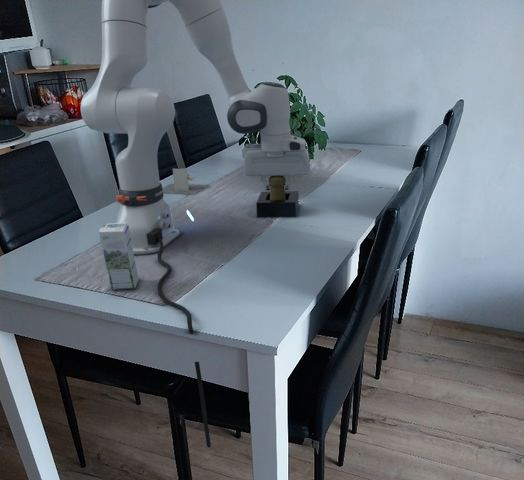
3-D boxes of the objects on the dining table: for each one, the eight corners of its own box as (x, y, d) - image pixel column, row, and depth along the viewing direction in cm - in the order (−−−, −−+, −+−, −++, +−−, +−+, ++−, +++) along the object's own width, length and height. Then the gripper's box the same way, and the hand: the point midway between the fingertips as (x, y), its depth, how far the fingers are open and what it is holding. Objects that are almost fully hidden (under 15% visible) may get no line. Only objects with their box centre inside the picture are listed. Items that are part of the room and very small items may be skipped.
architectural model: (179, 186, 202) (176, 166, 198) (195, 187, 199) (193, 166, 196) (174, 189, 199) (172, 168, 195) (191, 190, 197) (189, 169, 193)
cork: (288, 207, 173) (287, 172, 167) (287, 213, 168) (286, 177, 162) (269, 208, 174) (267, 173, 168) (268, 214, 169) (266, 178, 163)
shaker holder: (295, 216, 165) (295, 202, 163) (257, 217, 167) (256, 202, 164) (298, 204, 175) (298, 190, 173) (262, 205, 177) (261, 191, 174)
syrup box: (139, 279, 132) (128, 221, 124) (135, 289, 127) (123, 229, 119) (115, 280, 132) (103, 222, 124) (110, 291, 127) (97, 231, 119)
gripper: (239, 146, 159) (242, 193, 166) (309, 144, 156) (309, 192, 163) (242, 141, 164) (246, 187, 172) (310, 139, 161) (310, 186, 169)
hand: (277, 189), depth 167 cm, fingers closed on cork, 5 cm apart
